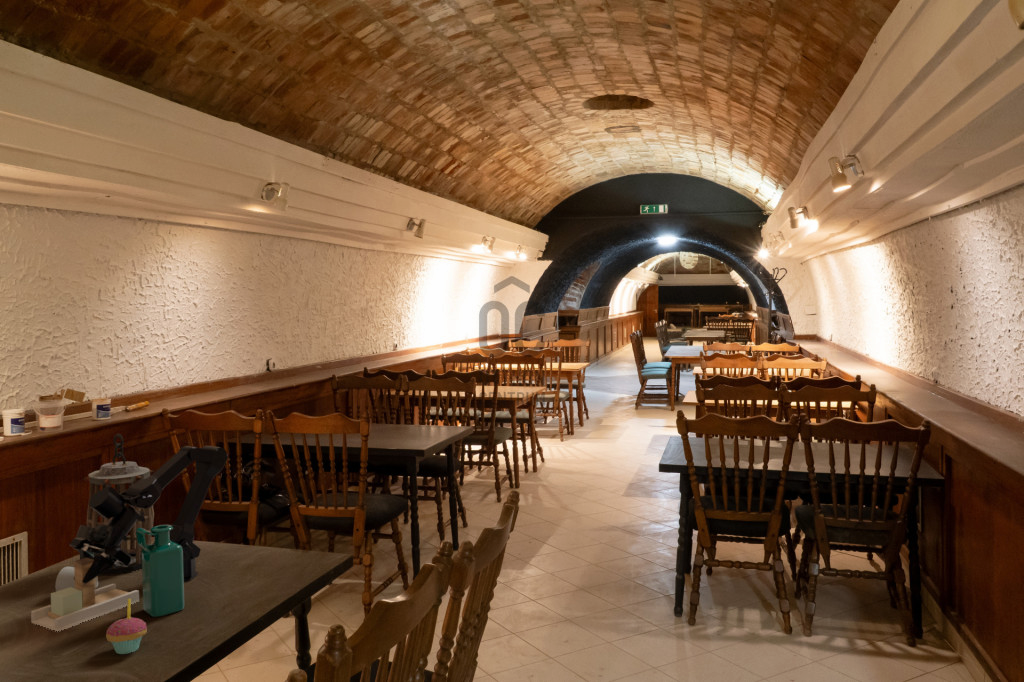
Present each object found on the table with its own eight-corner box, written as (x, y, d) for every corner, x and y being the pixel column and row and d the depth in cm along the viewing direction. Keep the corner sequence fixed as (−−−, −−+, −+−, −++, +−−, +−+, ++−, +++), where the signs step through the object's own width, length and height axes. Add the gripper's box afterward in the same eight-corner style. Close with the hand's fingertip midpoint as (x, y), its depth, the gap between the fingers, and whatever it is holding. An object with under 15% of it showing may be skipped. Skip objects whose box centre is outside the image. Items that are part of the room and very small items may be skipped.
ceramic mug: (84, 600, 215) (84, 572, 214) (54, 600, 215) (54, 571, 215) (106, 587, 225) (105, 559, 225) (77, 586, 226) (77, 559, 225)
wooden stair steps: (115, 592, 218) (114, 546, 217) (133, 597, 214) (132, 550, 213) (47, 616, 202) (45, 566, 201) (65, 622, 198) (63, 571, 197)
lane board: (113, 594, 219) (113, 583, 219) (139, 601, 214) (138, 590, 214) (31, 623, 200) (31, 611, 200) (57, 632, 195) (57, 620, 194)
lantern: (171, 557, 250) (167, 429, 248) (128, 578, 231) (123, 440, 229) (117, 553, 254) (113, 427, 252) (70, 573, 236) (66, 438, 233)
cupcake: (116, 642, 189) (114, 592, 188) (153, 641, 190) (151, 591, 189) (100, 659, 180) (98, 606, 180) (139, 657, 181) (138, 605, 180)
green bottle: (173, 600, 214) (171, 519, 213) (187, 609, 208) (184, 525, 207) (135, 611, 208) (133, 527, 206) (148, 620, 201) (145, 533, 200)
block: (70, 606, 206) (70, 587, 205) (82, 609, 203) (81, 590, 203) (51, 612, 201) (50, 593, 201) (63, 616, 199) (62, 597, 199)
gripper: (75, 507, 213) (34, 560, 204) (119, 516, 204) (79, 572, 195) (104, 528, 220) (66, 580, 212) (148, 539, 211) (110, 593, 202)
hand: (79, 581), depth 205 cm, fingers closed on wooden stair steps, 3 cm apart
